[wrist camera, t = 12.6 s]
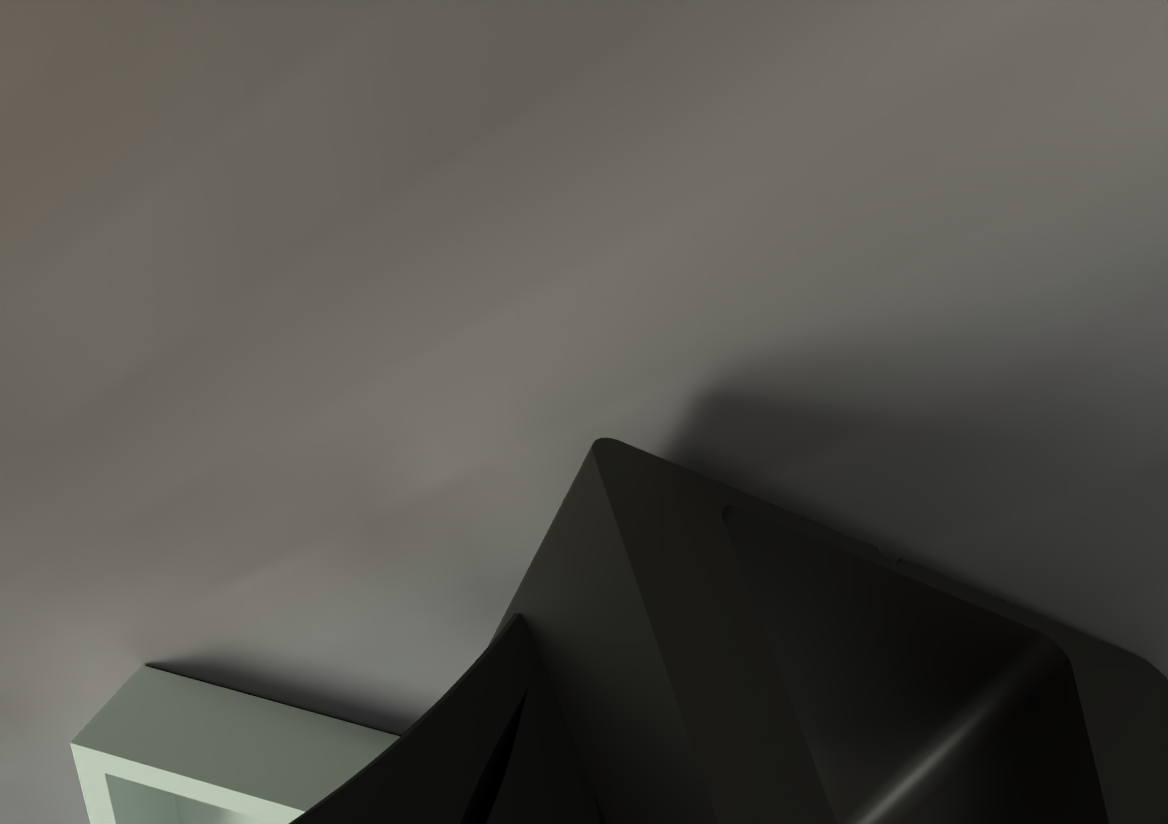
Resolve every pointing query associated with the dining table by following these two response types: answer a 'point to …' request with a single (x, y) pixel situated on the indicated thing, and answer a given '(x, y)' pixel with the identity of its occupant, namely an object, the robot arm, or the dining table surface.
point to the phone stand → (816, 672)
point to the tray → (212, 755)
